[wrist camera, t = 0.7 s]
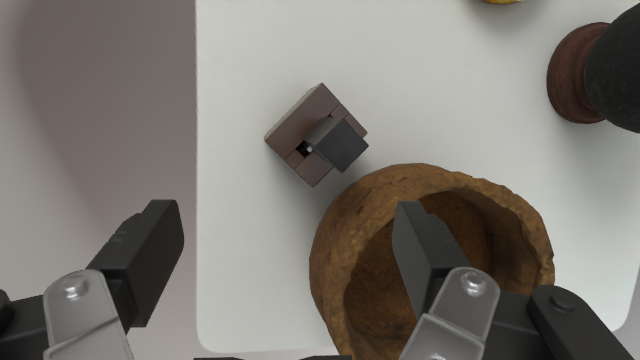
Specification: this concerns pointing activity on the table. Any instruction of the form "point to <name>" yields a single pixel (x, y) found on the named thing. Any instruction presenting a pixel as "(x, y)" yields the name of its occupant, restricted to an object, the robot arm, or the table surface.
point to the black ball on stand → (599, 73)
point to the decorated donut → (503, 1)
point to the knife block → (298, 123)
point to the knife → (334, 142)
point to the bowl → (380, 263)
